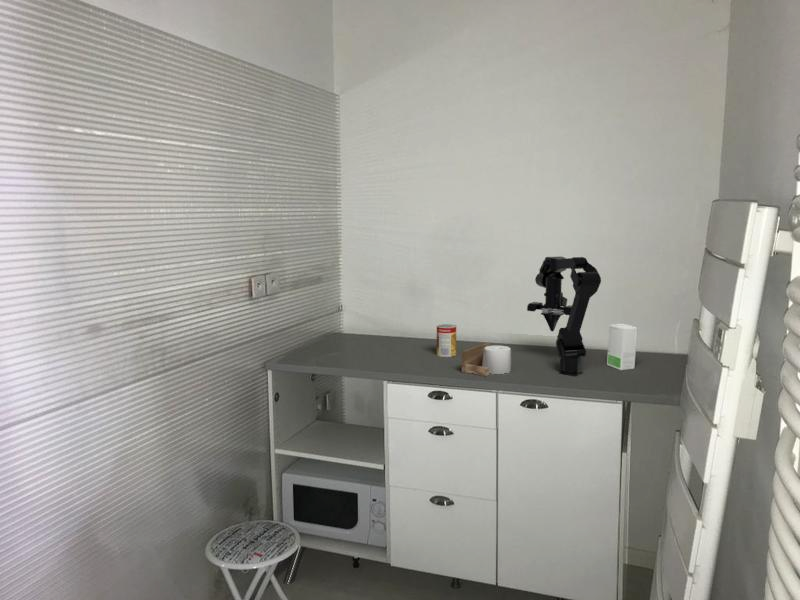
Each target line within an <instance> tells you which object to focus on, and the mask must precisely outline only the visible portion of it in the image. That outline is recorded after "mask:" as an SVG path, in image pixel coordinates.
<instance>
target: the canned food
mask: <svg viewBox="0 0 800 600" xmlns="http://www.w3.org/2000/svg"><path fill="white" fill-rule="evenodd" d="M436 356H437V357H440V358H441V357H442V358H452V356H454V357H456V356H457V325H456V324H453V323H441V324H436Z"/></svg>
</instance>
